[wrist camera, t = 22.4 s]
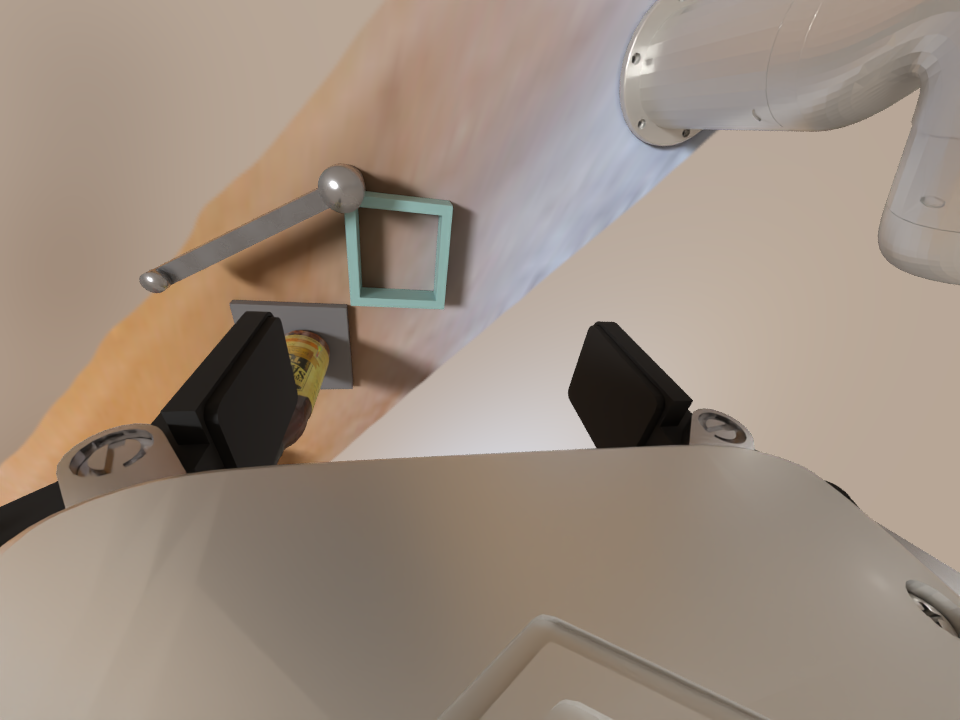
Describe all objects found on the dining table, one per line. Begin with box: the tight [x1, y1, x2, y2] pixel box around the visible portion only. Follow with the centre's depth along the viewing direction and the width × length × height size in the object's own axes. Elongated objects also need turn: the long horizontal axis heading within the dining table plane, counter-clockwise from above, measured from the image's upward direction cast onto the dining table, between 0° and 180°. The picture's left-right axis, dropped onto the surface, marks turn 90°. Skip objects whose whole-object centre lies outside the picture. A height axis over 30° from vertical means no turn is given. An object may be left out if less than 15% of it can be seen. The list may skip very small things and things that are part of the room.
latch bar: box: [140, 164, 366, 293], centre depth 31 cm, size 4×21×3 cm, turn 112°
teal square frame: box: [344, 164, 453, 309], centre depth 37 cm, size 12×14×4 cm
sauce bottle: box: [273, 330, 330, 465], centre depth 35 cm, size 7×6×20 cm
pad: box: [230, 300, 353, 389], centre depth 43 cm, size 12×12×1 cm
